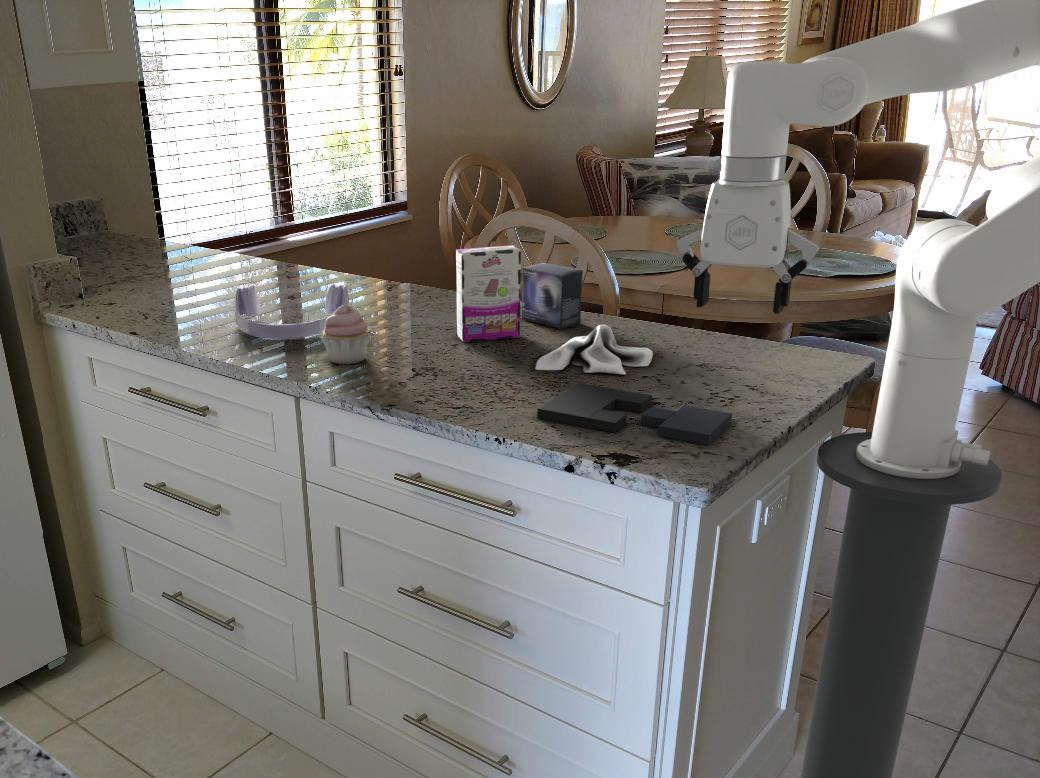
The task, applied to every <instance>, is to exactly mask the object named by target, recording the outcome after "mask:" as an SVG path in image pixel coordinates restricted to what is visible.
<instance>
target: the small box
mask: <svg viewBox="0 0 1040 778" xmlns="http://www.w3.org/2000/svg"><path fill="white" fill-rule="evenodd" d="M521 269H522V275H521V276H522V277H521V279H522V280H521V317H520V320H525V321H529V322H532V323H535V324H540V325H543V326H548V327H550V328H555V329H559V330H562V329H565V328H568V327H572V326H575V325H579V324H581V314H582V313H581V312H582V294H583V293H582V292H583V291H582V288H583V287H582V286H583V275H584V270H583V269H579V268H573V267H569V266H568V267H567V266H561V265H557V264H552V263H547V262H542V263H537V264H533V265H529V266H525V267H522V268H521Z"/></svg>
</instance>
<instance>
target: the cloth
mask: <svg viewBox="0 0 1040 778" xmlns="http://www.w3.org/2000/svg"><path fill="white" fill-rule="evenodd" d="M653 355H654V352H653V350H651V348H648V347H633V346H621V345H619V344H617V340H616V337H615V335H614V333H613V329H612V327H611V326H610V325H607V324H599V325H597V326H596V327H595V328H594V329H592V331H590V332H589V333H588V334H587V335H583V336H575V337H573V338H571V339H569V340H568V341H567V342H566V343H564V344H562V345H561V346H559V347H558V348H556V349H553V350H552V351H551V352H549V353H547V354H545V355H542V356H541V357H540V358H539V359H537V361H536V364H535V369H534V370H536V371H563V370H564V369H565V368H566V367H567V366H568V365H569V364H570V365H572V366H579V367H582V368H583V372H584V373H585V374H588V373H589V374H593V373H603V374H617V375H625V376H626V375H627V372H626V371H625V370H624V368H623V366H624V367H633V368H636V367H648V366H650V363H651V362H652V360H653V359H652V358H653Z"/></svg>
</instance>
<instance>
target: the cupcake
mask: <svg viewBox="0 0 1040 778" xmlns="http://www.w3.org/2000/svg"><path fill="white" fill-rule="evenodd" d="M367 324H368V323H367V322H366V321H365V319H364V318H363V317H362V315H361V313H360V312H359V310H358V309H356V308H354V307H353V306H352V305H347V304H344V305H342V306H340V307H339V308H338V309H337V310H336V311H335V313H334V315H332V316H330V317H328V318H327V319H326V322H325V330H323V332H322V333H319V334H318V336H319V338H320V339H321V341H322V342H323V346H324V348H325V352H326V354H327V357H328V360H329V362H331V363H333V364H337V365H353V364H357V363H361V362H363V361H364V360H365V359H366V356H367V355H366V354H367V349H368V345H369V342H370V340H371V338H372V336H373V334H374V331H371V329H370V328H368V325H367Z"/></svg>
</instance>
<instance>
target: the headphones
mask: <svg viewBox="0 0 1040 778" xmlns="http://www.w3.org/2000/svg"><path fill="white" fill-rule="evenodd" d="M235 291H236V292H235V302H234V306H233V310H234V319H235V324H236V326H237V325H238V326H239V327H240V328H239V327H238V326H237V328H238V329H239V330H240V331H241V332H242V333H245V334H247V335H249V336H253V337H256V338H260V339H268V340H294V339H302V338H309V337H312V336H316V335H319V333H322V332H323V330H325V322H326V319H327V318H328V317H330V316H332V315H334V313H335V311H336V310H337V309H338V308H339V307H340V306H342V305H344V304H347V305H349V304H350V296H349V291H348V287H347V285H344V286H343V285H341V284H338V285H336V284H334V283H331V284H329V286H328V289H327V291H326V296H325V301H324V311H325V312H324V314H325V316H324V317H321V318H318V319H315V320H310V321H305V322H301V323H291V324H290V323H288V324H287V323H286V324H283V323H281V324H273V323H271V324H269V323H261V322H257V321H254V320H251V319H253V318H254V317H249V316H258V317H257V318H260V317H261V303H260V299H259V295H258V291H257V287H256V284H254V283H251V284H249V285H248V286H246V285H244V286H242V287H237V289H236V290H235ZM243 314H244V316H242V317H241V315H243ZM259 315H260V316H259ZM326 315H329V316H326ZM246 316H248V317H249V318H248V317H246ZM245 317H246V318H245ZM241 328H242V329H241ZM243 329H244V330H243ZM246 330H247V331H246Z"/></svg>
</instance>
